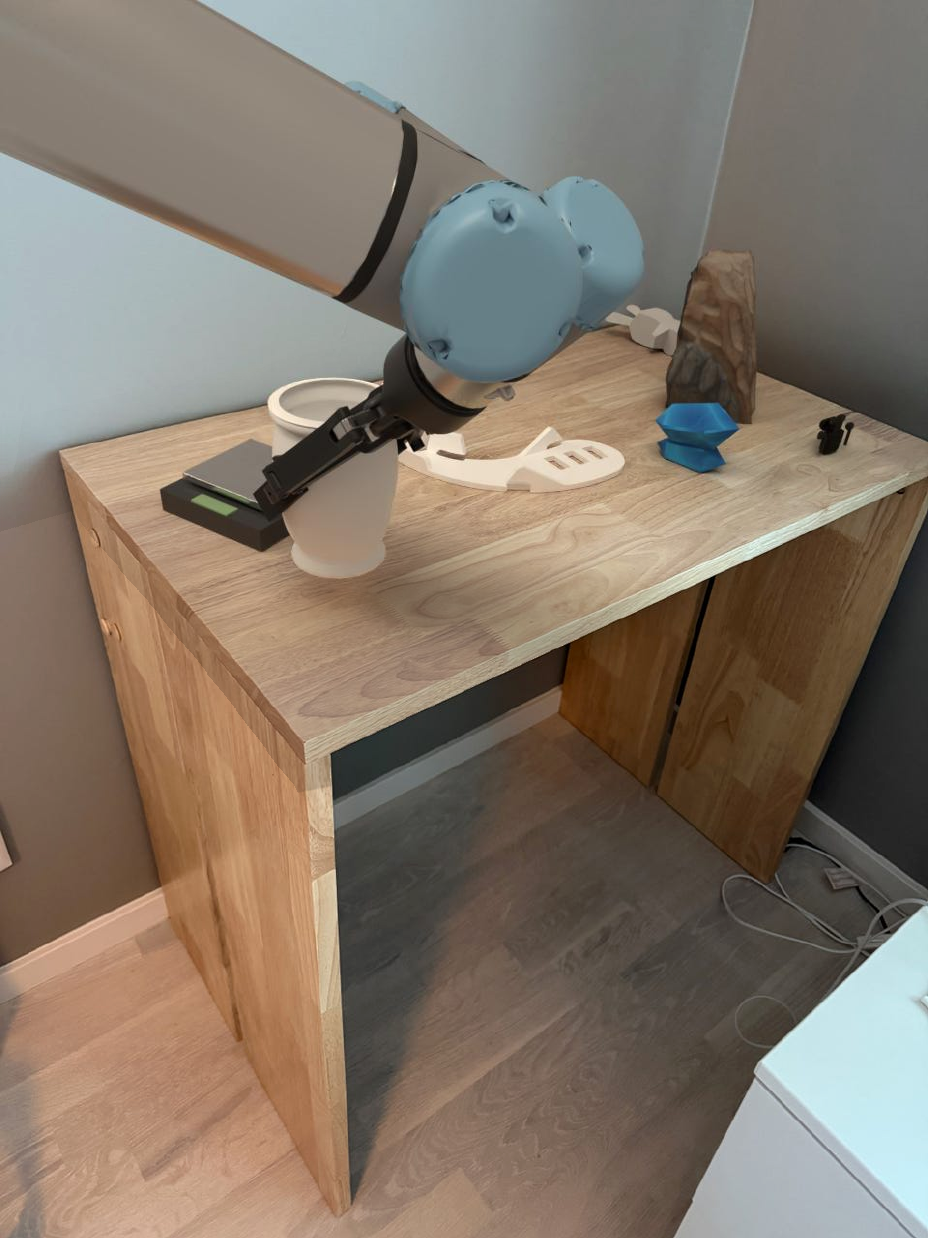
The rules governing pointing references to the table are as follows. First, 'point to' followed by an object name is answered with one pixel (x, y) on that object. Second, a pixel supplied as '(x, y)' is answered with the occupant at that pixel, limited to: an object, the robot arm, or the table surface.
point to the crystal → (695, 434)
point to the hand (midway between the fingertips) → (314, 485)
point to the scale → (222, 514)
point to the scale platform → (234, 471)
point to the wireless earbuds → (833, 433)
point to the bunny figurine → (650, 327)
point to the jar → (335, 484)
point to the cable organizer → (517, 464)
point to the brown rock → (717, 337)
